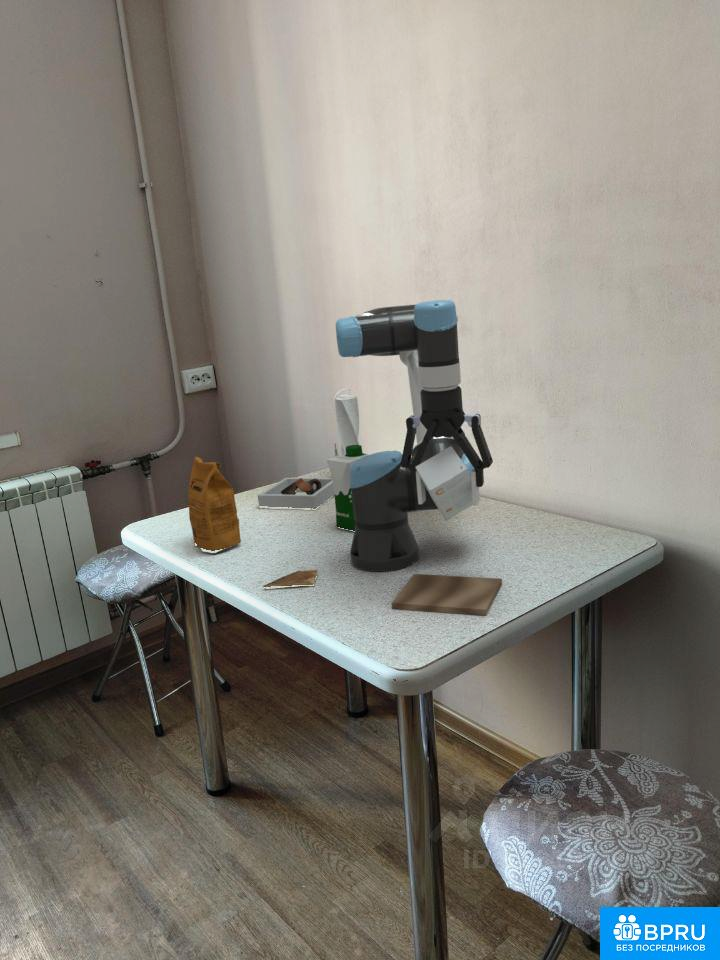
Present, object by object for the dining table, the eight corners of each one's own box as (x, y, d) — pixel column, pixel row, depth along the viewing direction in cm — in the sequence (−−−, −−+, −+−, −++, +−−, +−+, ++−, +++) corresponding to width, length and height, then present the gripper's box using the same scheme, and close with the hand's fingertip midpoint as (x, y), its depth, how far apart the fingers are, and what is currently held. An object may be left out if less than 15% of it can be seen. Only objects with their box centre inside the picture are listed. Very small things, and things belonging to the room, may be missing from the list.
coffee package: (224, 534, 200) (211, 451, 194) (247, 546, 190) (234, 458, 184) (188, 545, 195) (174, 460, 189) (209, 557, 185) (194, 468, 179)
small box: (465, 477, 156) (451, 444, 145) (481, 500, 153) (468, 468, 142) (430, 497, 157) (414, 466, 146) (445, 521, 153) (429, 491, 142)
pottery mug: (301, 513, 213) (284, 487, 213) (289, 520, 221) (272, 496, 221) (333, 491, 219) (317, 466, 219) (320, 499, 227) (304, 476, 227)
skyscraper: (344, 477, 243) (334, 388, 236) (369, 477, 241) (360, 386, 233) (336, 485, 235) (325, 393, 228) (361, 485, 233) (351, 392, 226)
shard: (263, 592, 163) (262, 584, 162) (269, 578, 170) (268, 570, 169) (314, 589, 162) (313, 581, 161) (319, 575, 169) (318, 567, 168)
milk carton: (380, 523, 196) (373, 446, 191) (355, 534, 190) (346, 455, 185) (356, 518, 202) (348, 443, 197) (330, 528, 196) (321, 451, 191)
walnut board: (391, 608, 148) (391, 602, 147) (414, 579, 160) (414, 573, 160) (486, 615, 141) (485, 609, 140) (502, 584, 153) (501, 578, 153)
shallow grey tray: (259, 508, 219) (257, 495, 218) (287, 490, 234) (285, 477, 233) (315, 510, 212) (314, 496, 211) (340, 491, 228) (339, 478, 227)
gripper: (505, 380, 143) (511, 497, 149) (388, 385, 151) (398, 495, 157) (497, 388, 136) (504, 509, 142) (376, 393, 144) (387, 507, 150)
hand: (448, 502), depth 150 cm, fingers closed on small box, 10 cm apart
